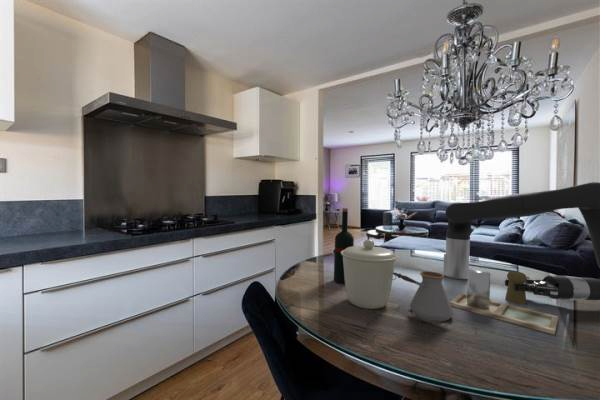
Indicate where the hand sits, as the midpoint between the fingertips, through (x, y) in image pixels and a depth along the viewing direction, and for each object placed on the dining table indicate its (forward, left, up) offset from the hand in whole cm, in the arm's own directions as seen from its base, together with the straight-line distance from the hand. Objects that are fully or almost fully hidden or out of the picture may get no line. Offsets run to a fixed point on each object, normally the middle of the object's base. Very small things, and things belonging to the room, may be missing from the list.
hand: (510, 284), depth 94 cm
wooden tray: (0, -14, -6) cm, 15 cm away
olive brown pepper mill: (+2, +1, -7) cm, 7 cm away
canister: (-32, -36, -7) cm, 49 cm away
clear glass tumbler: (-6, -14, -5) cm, 16 cm away
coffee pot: (-15, -36, -7) cm, 39 cm away
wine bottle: (-50, -24, -7) cm, 56 cm away
